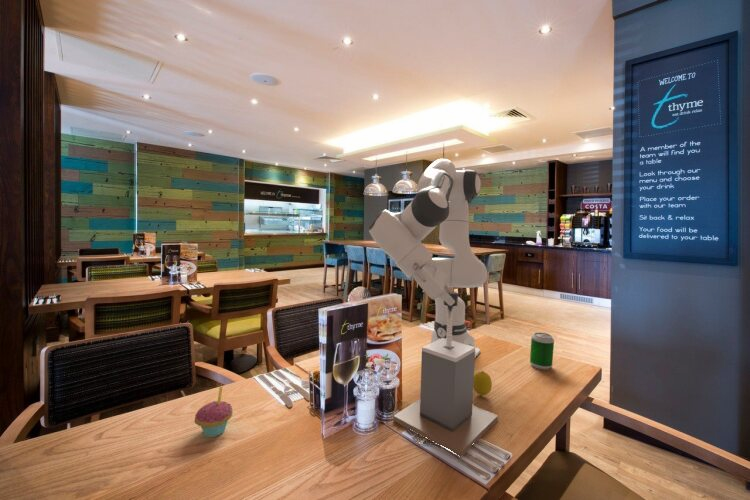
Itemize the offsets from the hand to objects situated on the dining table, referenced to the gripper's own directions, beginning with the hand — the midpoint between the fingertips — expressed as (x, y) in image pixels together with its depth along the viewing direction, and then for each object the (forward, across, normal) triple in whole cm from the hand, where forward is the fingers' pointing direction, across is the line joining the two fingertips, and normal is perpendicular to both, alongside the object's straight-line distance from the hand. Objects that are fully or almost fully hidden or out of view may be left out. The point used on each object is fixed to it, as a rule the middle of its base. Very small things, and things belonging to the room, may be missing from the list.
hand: (453, 301), depth 88 cm
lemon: (+30, +16, +16) cm, 38 cm away
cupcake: (-17, -20, +64) cm, 69 cm away
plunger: (+15, 0, +16) cm, 22 cm away
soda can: (+47, +44, 0) cm, 64 cm away
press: (+23, 0, +24) cm, 33 cm away
